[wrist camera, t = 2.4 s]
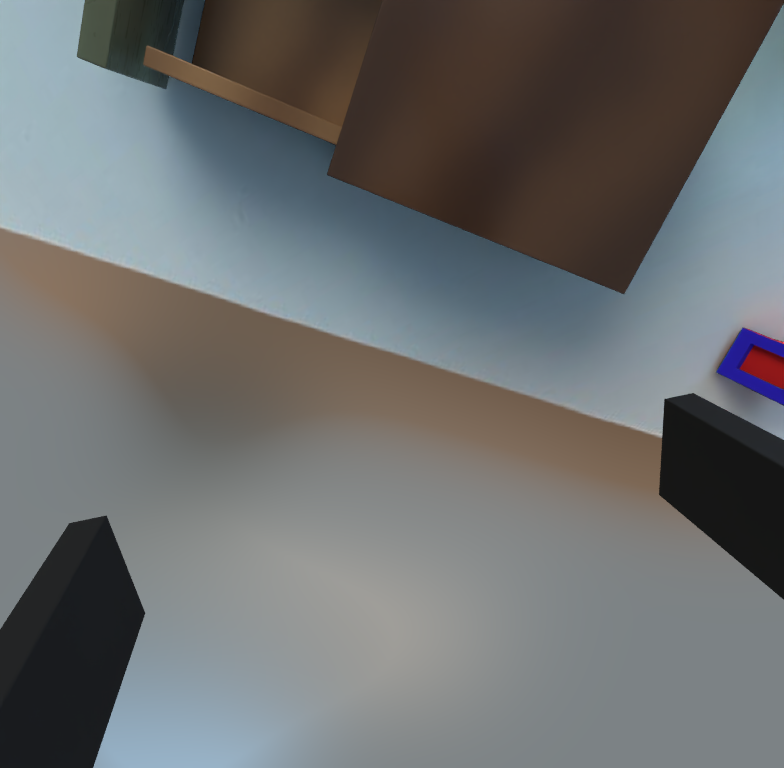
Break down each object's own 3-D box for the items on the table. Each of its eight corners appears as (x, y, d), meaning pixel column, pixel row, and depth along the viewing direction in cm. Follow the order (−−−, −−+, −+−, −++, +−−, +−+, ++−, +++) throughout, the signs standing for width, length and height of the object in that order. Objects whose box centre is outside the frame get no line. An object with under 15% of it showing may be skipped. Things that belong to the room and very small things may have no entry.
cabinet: (335, 169, 33) (326, 174, 24) (419, -93, 28) (447, -206, 19) (558, 260, 36) (624, 294, 27) (668, 36, 31) (791, -10, 22)
